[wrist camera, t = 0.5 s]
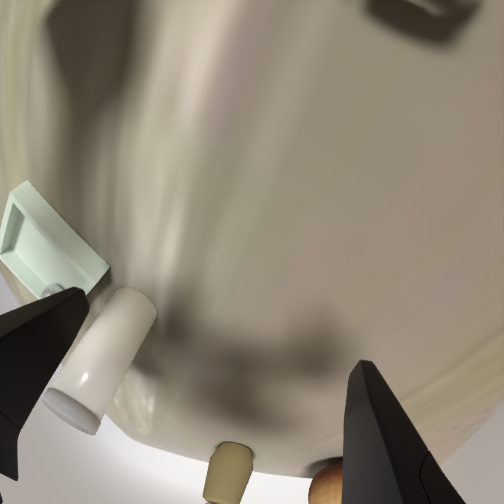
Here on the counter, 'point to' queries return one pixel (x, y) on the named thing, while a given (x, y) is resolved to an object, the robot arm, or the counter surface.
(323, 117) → the counter surface
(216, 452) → the squeeze bottle
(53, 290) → the ball
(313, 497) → the butternut squash
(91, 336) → the cylinder
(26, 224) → the tray
